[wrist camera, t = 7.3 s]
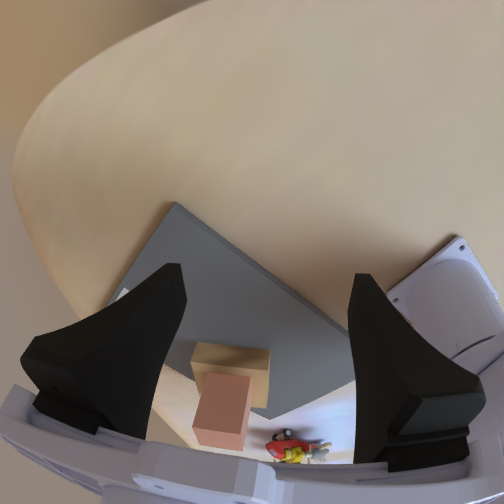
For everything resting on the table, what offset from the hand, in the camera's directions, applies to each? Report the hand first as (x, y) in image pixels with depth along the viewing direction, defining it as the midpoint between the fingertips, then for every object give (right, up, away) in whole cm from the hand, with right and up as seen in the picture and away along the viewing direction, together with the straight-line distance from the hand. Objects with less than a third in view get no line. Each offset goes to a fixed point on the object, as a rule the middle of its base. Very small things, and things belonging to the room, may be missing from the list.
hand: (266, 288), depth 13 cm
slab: (-2, -10, +18) cm, 21 cm away
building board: (-2, -7, +17) cm, 18 cm away
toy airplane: (+7, -26, +28) cm, 38 cm away
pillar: (-3, -11, +16) cm, 20 cm away
